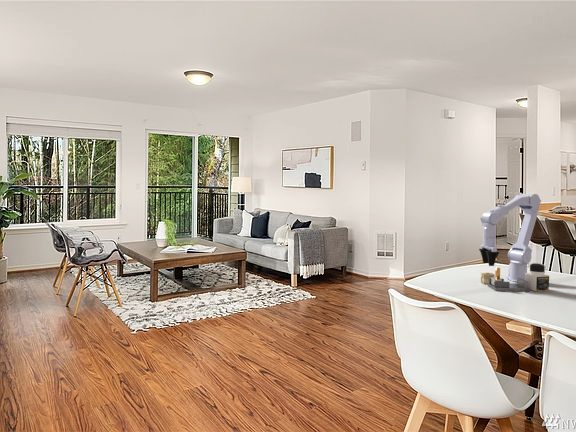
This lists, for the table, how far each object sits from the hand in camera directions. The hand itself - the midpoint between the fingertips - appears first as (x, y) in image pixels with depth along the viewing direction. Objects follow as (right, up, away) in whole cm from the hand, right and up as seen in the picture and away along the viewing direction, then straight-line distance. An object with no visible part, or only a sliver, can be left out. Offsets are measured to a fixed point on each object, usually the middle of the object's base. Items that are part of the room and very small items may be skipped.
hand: (488, 264), depth 219 cm
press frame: (+4, -10, -11) cm, 15 cm away
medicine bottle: (+17, -11, -12) cm, 23 cm away
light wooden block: (0, -10, +1) cm, 10 cm away
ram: (-1, -8, -10) cm, 13 cm away
